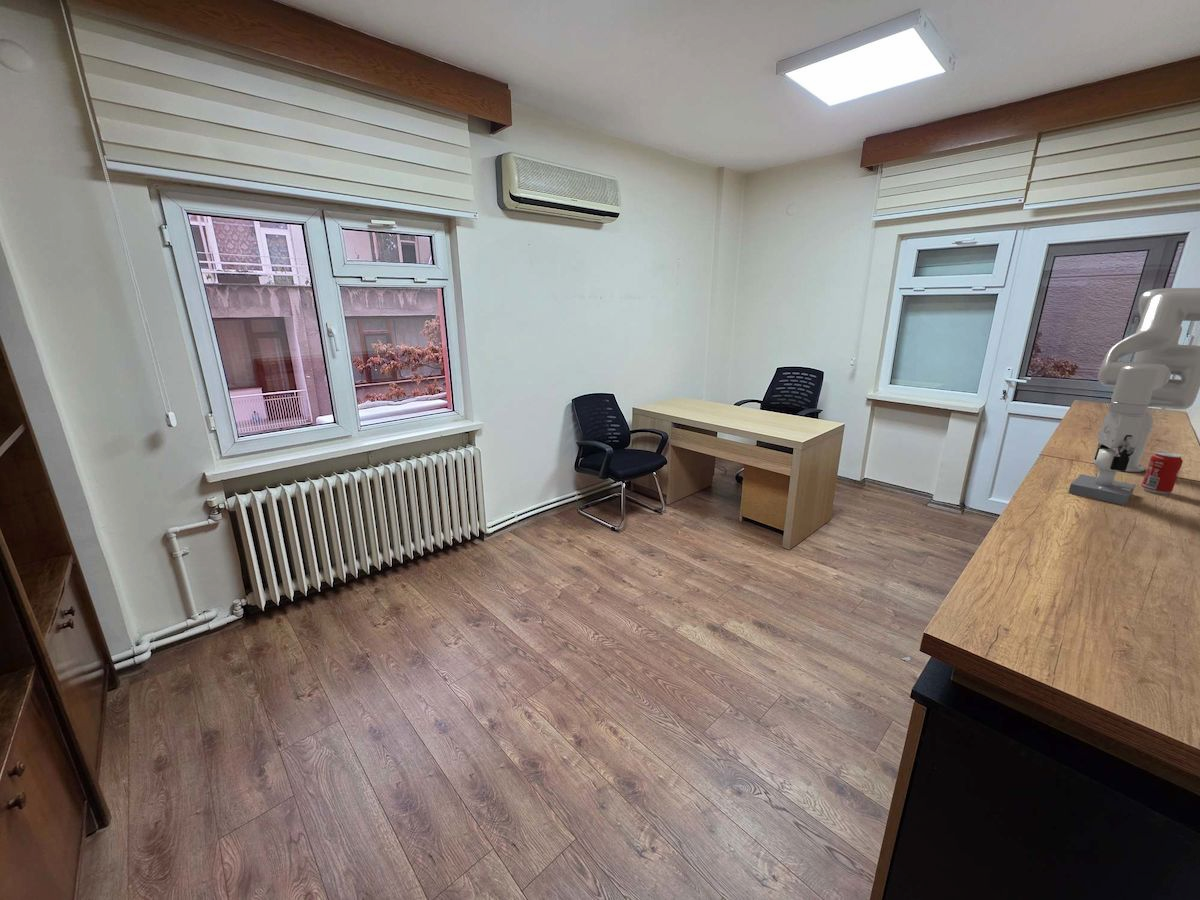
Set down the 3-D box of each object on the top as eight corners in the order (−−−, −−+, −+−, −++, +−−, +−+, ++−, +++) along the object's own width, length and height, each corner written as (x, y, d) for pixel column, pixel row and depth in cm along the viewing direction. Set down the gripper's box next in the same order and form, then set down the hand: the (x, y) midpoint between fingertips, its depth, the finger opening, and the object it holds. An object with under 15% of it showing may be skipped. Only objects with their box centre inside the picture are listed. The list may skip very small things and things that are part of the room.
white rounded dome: (1091, 463, 148) (1096, 446, 146) (1118, 466, 145) (1123, 449, 143) (1098, 469, 143) (1103, 451, 141) (1126, 472, 140) (1132, 454, 138)
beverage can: (1177, 495, 145) (1191, 457, 141) (1156, 495, 145) (1169, 457, 142) (1154, 487, 151) (1167, 451, 147) (1134, 487, 151) (1146, 450, 148)
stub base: (1078, 483, 155) (1085, 459, 153) (1132, 494, 146) (1140, 469, 143) (1068, 493, 147) (1075, 468, 144) (1124, 505, 138) (1133, 479, 135)
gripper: (1095, 402, 148) (1080, 455, 153) (1125, 413, 133) (1106, 472, 138) (1129, 404, 145) (1111, 458, 150) (1162, 416, 130) (1142, 476, 135)
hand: (1109, 465), depth 144 cm, fingers open, 9 cm apart
